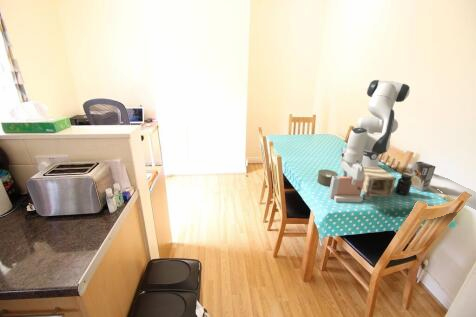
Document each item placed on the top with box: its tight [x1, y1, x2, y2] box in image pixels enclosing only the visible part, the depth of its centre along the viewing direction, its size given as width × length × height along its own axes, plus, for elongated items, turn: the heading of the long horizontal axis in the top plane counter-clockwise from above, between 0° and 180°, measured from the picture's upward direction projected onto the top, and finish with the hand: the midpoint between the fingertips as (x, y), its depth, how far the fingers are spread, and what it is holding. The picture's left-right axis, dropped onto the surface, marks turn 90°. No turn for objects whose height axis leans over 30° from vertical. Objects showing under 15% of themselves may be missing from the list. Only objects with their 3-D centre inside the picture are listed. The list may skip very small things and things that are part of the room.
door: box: [327, 175, 364, 200], centre depth 131 cm, size 4×17×13 cm, turn 90°
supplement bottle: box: [394, 173, 412, 196], centre depth 137 cm, size 7×7×12 cm
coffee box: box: [410, 161, 436, 192], centre depth 144 cm, size 9×6×16 cm
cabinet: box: [361, 166, 397, 200], centre depth 139 cm, size 20×17×12 cm
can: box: [317, 169, 339, 188], centre depth 150 cm, size 12×12×7 cm
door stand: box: [333, 195, 364, 203], centre depth 133 cm, size 10×15×2 cm, turn 90°
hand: (348, 180), depth 129 cm, fingers open, 8 cm apart
